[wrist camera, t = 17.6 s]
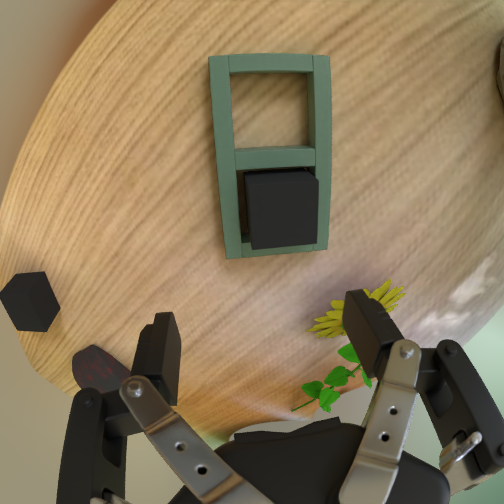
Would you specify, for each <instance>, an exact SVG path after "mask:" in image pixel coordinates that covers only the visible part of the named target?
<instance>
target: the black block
mask: <svg viewBox="0 0 504 504" xmlns="http://www.w3.org/2000/svg"><path fill="white" fill-rule="evenodd" d="M0 300H1V301H2V304H3V305H4V307H5V309H6V311H7V313H8V315H9V317H10V318H11V320H12V322H13V324H14V325H15V327H16V329H17V330H18V331H35V332H47V331H48V329H49V327H50V325H51V324H52V322H53V320H54V318H55V317H56V315H57V313H58V312H59V310H60V306H59V304H58V302H57V300H56V297H55V295H54V293H53V291H52V289H51V286H50V284H49V282H48V279H47V277H46V274H45V272H33V273H23V274H15V275H14V277H13V278H12V279H11V280H10V281H9V282H8V284H7V285H6V286H5V287H4V288H3V290H2V291H1V292H0Z"/></svg>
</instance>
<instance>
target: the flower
mask: <svg viewBox="0 0 504 504" xmlns="http://www.w3.org/2000/svg"><path fill="white" fill-rule="evenodd" d="M390 284H391V279H389V280H387V281H386V282H385V283H384V284H383V285H382V286H381V287H380V288H377V289H375V290H374V292H373V293H372V294H370V292H369V291H368V290H367V289H366V288H365V289H363V290H364V292H365V293H366V295H367V296H368V298H374V299H376V300H377V301H378V302H380V303H381V304H382V305H383V307H384V308H386V309H385V310H386V312H387V313H389V312H391V311H392V310H393V309H394V307H396V306H397V305H398V304H395V305H392V306H390V305H391V304H393V303H394V302H396V301H397V300H399V299H400V298H402V297H403V296H404V295H405V294H406V293H402V294H400V295H398V296H396V295H397V294H398V293H399V292H400V291H401V290H402V289H403V287H404V286H402V287H400V288H398V289H397V287H395V288H393V289H392V290H391V291H390V292H388V293H387V294H386V292H387V291H388V289H389V287H390ZM385 294H386V295H385ZM384 295H385V296H384ZM395 296H396V297H395ZM331 306H332V307H333V308H334V309H335V311H328V312H326V314H327V315H328V316H324V317H319V318H315V321H317V322H321V323H320V324H317V325H314V326H313V328H311V329H309V330H306V331H307V332H309V331H318V330H323V329H326V330H323V331H320V332H318V333H316V334H315V335H319V336H318V337H316V338H320V337H323V336H327V335H328V336H327V337H326V338H330V337H331V338H333V337H335V336H337V335H340V334H341V333H343V332H344V333H343V334H342V336H345V335H347V334H346V332H345V330H344V327H343V323H342V313H343V307H344V301H343V300H332V301H331ZM388 306H390V307H388ZM387 307H388V308H387ZM338 353H339V354H340V355H341V356H342V357H344V358H345V359H346V360H348V361H350V362H355V363H360V361H359V359H358V357H357V354H356V352H355V350H354V348H353V346H352V344H351V343H349V344H348V345H345V346H343V347H342V348H340V349H339V350H338ZM361 366H362V365H361V364H359V365H358V366H357V367H356V368H355V369H354V370H353V371H352V372H351V371H350V370H348V369H345V367H343V366H338V367H336V368H334V369H333V370H332V371H331V373H330V374H329V375H328V376H327V377H326V378H325V380H324V383H325V384H328V385H331V387H330V388H328V387H327V388H325V389H323V390H321V389H322V388H323V387H324V384H323V383H322V382H320V381H313V382H310V383H306V384H304V385H302V386H301V388H302V389H303V390H304V392H305V393H306V394H307V395H309V396H310V397H313V398H314V399H313V400H311V401H309V402H307V403H305V404H304V405H302V406H300V407H298V408H296V409H294V410H292V412H293V411H295V410H297V409H299V408H301V407H303V406H305V405H307V404H309V403H311V402H313V401H314V400H316V399H317V398H318V399H320V401H319V405H320V407H322V409H323V410H324V411H327V412H330V411H331V408H330V404H331V403H333V402H335V401H336V400H337V399H338V398H339V397H340V394H339V392H337V391H333V389H334V387H335V386H336V387H338V386H344V385H346V383H347V382H348V376H352V377H355V376H354V375H353V374H352V373H354V372H355V371H356V370H358V369H360V367H361ZM360 370H362V369H360ZM362 371H363V372H362V376H363V380H364V382H365V384H366V385H367V386H368V387H370V388H371V386H372V385H371V378H370V379H368V378H367V376H366V374H365V372H364V369H363V370H362ZM344 373H345V374H344ZM347 374H348V375H347ZM330 389H332V390H330ZM319 397H320V398H319Z"/></svg>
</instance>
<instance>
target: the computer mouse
mask: <svg viewBox="0 0 504 504" xmlns="http://www.w3.org/2000/svg"><path fill="white" fill-rule="evenodd" d="M72 371H73V375H74V378H75V380H76V382H77V384H78V385H79V387H80V388H81V389H84V388H88V387H91V388H95V389H97V390H98V391H99V392H100V393H101V394H102V393H106V392H110V391H113V390H117V389H119V388H120V386H121V384H122V383H123V381H125V380H126V379H127V378H129V377H130V375H131V372H130V371H129V370H128V369H127V368H125V367H124V366H123V365H122V364H121V363H119V362H118V361H117V360H116V359H115V358H113V357H112V356H111V355H109V354H108V353H106V352H105V351H103V350H102V349H100V348H99V347H97V346H95V345H91V346H89V347H87V348H86V349H84V350H82V351H80V352H78V353H76V354H75V355H74V356H73V361H72Z"/></svg>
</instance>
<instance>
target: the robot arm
mask: <svg viewBox="0 0 504 504" xmlns="http://www.w3.org/2000/svg"><path fill="white" fill-rule="evenodd" d="M342 323H343V327H344V330H345V332H346V334H347V336H348V338H349V340H350V342H351V344H352V346H353V348H354V350H355V352H356V354H357V357H358V359H359V361H360V363H361V365H362V367H363V369H364V372H365V374H366V376H367V378H368V379H370V378H374V377H376V378H377V380H378V383H377V385H376V388H375V391H374V394H373V397H372V399H371V402H370V405H369V408H368V410H367V413H366V415H365V418H364V420H363V422H362V425H361V426H359V425H356V424H351V423H341V422H340V419H339V417H334V418H330V419H326V420H321V421H316V422H313V423H311V424H308V425H306V426H304V427H302V428H299V429H297V430H294V431H292V432H289V433H284V432H269V431H255V432H245V433H235V434H234V439H235V440H233V441H230V442H227V443H225V444H223V445H221V446H220V447H218V448H217V449H215V450H214V451H213V450H212V449H211V448H210V447H209V446H208V445H207V444H206V443H205V442H204V441H203V440H202V439H201V438H200V436H199V435H198V434H197V433H196V432H195V431H194V430H193V429H192V428H191V427H190V426H189V425H188V423H187V422H186V421H185V420H184V419H183V418H182V417H181V416H180V415H179V414H178V413H177V412H175V411H174V410H173V409H172V408H171V407H170V406H177V396H178V382H179V369H180V357H181V338H180V334H179V331H178V327H177V324H176V321H175V317H174V314H173V312H160V313H156V314H155V318H154V323H153V324H147V325H146V326H145V327H144V329H143V330H142V331H141V332H140V336H139V340H138V344H137V348H136V349H137V350H136V353H135V357H134V361H133V366H132V370H131V375H130V377H129V378H127V379H126V380H125V381H123V383H122V384H121V386H120V388H119V389H117V390H113V391H110V392H106V393H102V394H101V393H100V392H99V391H98V390H97V389H95V388H91V387H88V388H84V389H82V390H80V391H79V392H77V393H76V395H75V396H74V399H73V402H72V407H71V412H70V415H69V420H68V425H67V430H66V435H65V440H64V446H63V452H62V458H61V465H60V473H59V480H58V489H57V500H56V504H131V503H129V502H128V501H126V500H125V471H126V449H127V436H128V435H132V434H136V433H140V432H144V433H145V435H146V437H147V438H148V439H149V441H150V442H151V443H152V445H153V446H154V447H155V449H156V450H157V451H158V452H159V454H160V455H161V457H162V458H163V459H164V460H165V462H166V463H167V464H168V465H169V466H170V468H171V469H172V470H173V471H174V473H175V474H176V475H177V476H178V477H179V478H180V480H181V481H182V482H183V483H184V484H185V485H184V486H183V487H182V488H181V489H180V491H179V492H178V493H177V494H176V495H175V496H174V497H173V499H172V500H171V501H170V502H169V503H168V504H449V501H450V497H451V496H453V495H454V494H456V493H458V492H460V491H462V490H469V489H472V488H473V487H475V486H477V485H478V484H480V483H482V482H483V481H485V480H486V479H488V478H489V477H491V476H493V475H494V474H496V473H497V472H498V471H500V470H501V469H503V468H504V419H503V417H502V415H501V413H500V412H499V409H498V408H497V406H496V404H495V402H494V400H493V398H492V397H491V395H490V393H489V392H488V389H487V388H486V386H485V384H484V383H483V381H482V379H481V377H480V376H479V374H478V372H477V371H476V369H475V368H474V366H473V364H472V363H471V361H470V360H469V358H468V356H467V355H466V353H465V352H464V350H463V349H462V347H461V346H460V345H459V344H458V343H457V342H455V341H453V340H449V339H446V340H442V341H440V342H439V344H438V345H437V347H436V348H420V347H419V346H418V345H417V344H416V343H415V342H413V341H411V340H407V339H405V338H404V337H403V335H402V334H401V332H400V331H399V329H398V328H397V326H396V325H395V323H394V322H393V320H392V319H391V318H390V316H389V314H388V313H387V312H386V310H385V308H384V307H383V305H382V304H381V303H380V302H378V301H377V300H376V299H374V298H368V296H367V295H366V293H365V292H364V290H363V289H359V290H353V291H347V292H346V295H345V301H344V307H343V313H342ZM417 393H419V394H420V396H421V398H422V401H423V403H424V405H425V407H426V410H427V412H428V414H429V416H430V419H431V421H432V423H433V425H434V428H435V430H436V433H437V435H438V438H439V440H440V443H441V445H442V448H443V450H442V451H441V453H440V463H439V467H440V470H439V469H437V468H435V467H433V466H432V465H430V464H428V463H426V462H424V461H422V460H420V459H418V458H416V457H415V456H413V455H411V454H409V453H407V452H406V451H404V450H403V448H404V444H405V441H406V437H407V434H408V430H409V426H410V423H411V419H412V415H413V411H414V407H415V402H416V398H417Z"/></svg>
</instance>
